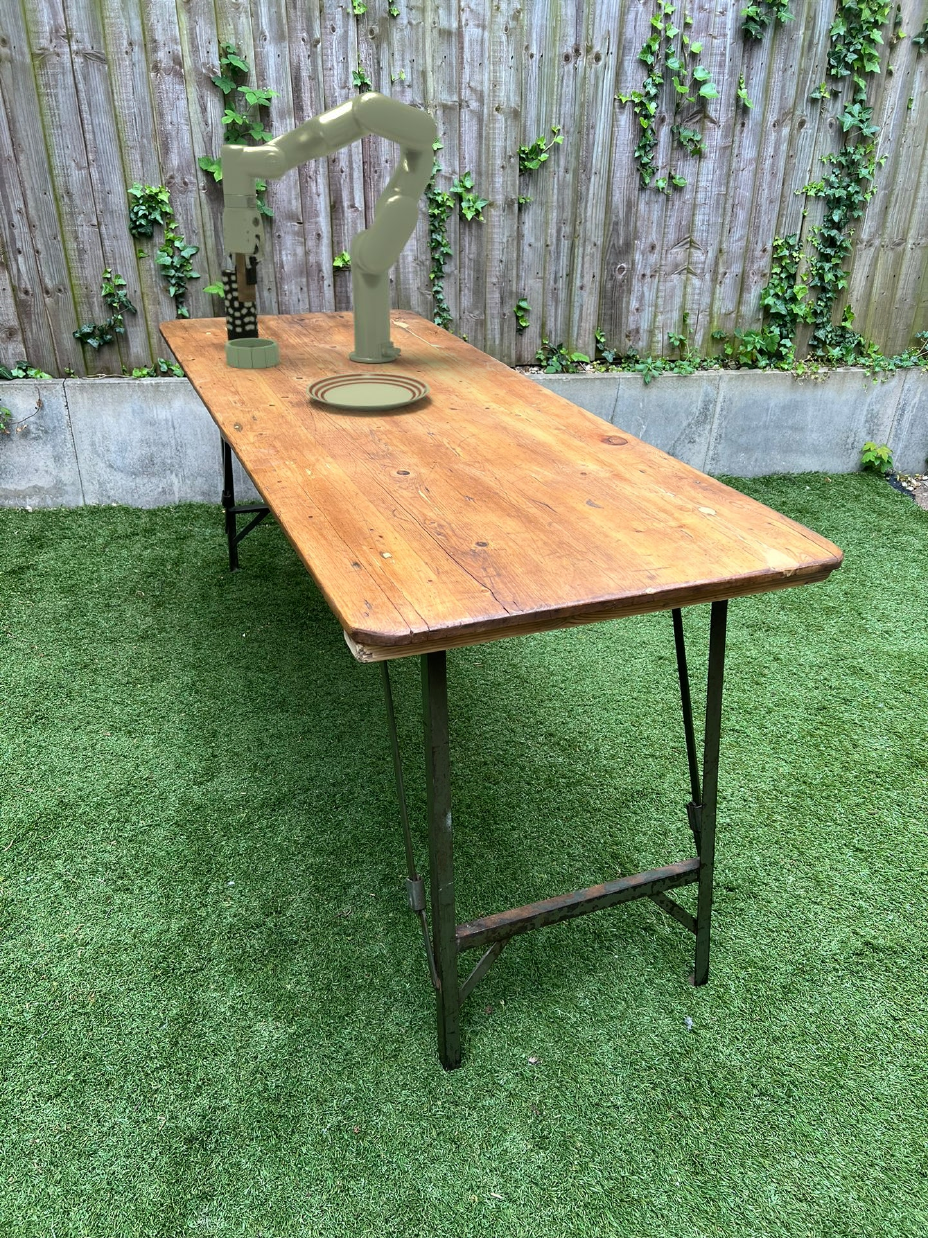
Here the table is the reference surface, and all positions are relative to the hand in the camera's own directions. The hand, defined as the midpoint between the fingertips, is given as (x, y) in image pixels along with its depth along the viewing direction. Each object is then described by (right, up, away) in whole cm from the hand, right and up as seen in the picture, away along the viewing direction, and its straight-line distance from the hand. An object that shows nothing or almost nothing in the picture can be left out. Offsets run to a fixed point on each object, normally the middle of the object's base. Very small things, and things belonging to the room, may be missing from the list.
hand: (246, 283), depth 225 cm
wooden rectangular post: (0, -4, +2) cm, 4 cm away
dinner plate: (+33, -35, -21) cm, 52 cm away
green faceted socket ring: (0, -17, +9) cm, 19 cm away
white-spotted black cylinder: (-7, -9, +26) cm, 28 cm away
